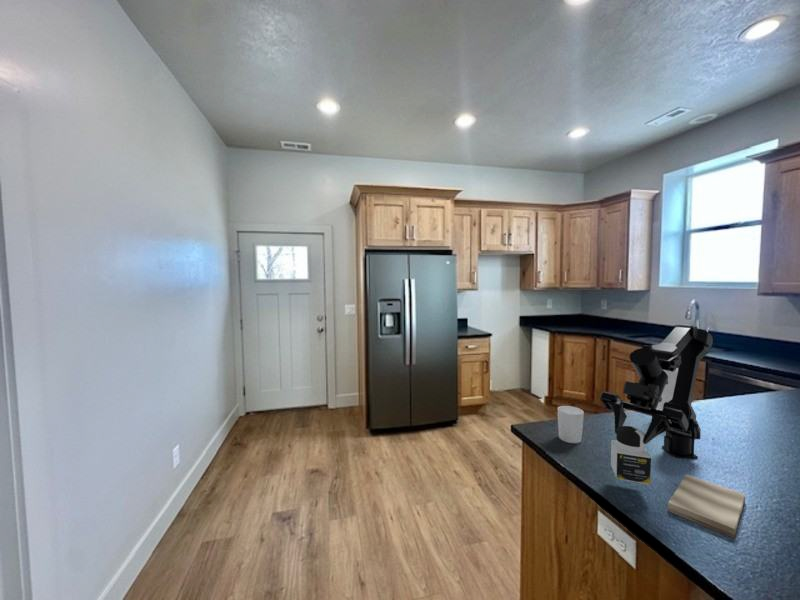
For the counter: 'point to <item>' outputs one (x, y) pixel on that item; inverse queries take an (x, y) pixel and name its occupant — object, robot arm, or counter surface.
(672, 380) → the water bottle
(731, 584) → the counter surface
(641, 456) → the medicine bottle
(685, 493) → the tan flat slab
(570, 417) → the white cup
